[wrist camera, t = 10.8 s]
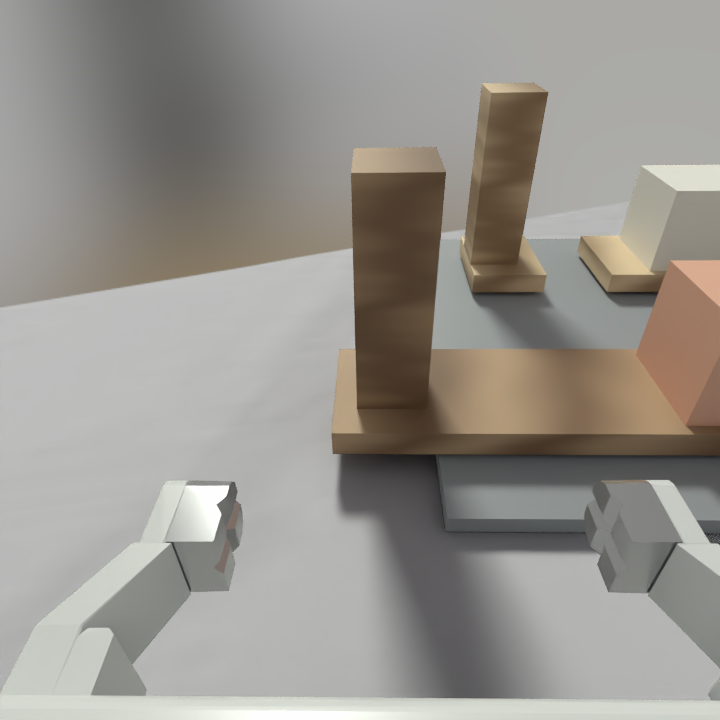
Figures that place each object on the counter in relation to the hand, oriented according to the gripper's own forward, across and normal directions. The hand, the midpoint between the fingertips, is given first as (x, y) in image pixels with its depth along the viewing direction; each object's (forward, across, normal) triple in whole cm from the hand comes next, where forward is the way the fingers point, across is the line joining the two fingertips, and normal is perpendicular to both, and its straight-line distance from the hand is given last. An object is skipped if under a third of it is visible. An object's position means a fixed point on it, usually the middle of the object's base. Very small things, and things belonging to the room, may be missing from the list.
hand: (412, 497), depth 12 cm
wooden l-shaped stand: (+11, -7, +7) cm, 14 cm away
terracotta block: (+10, -14, +5) cm, 19 cm away
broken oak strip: (+24, -15, +7) cm, 29 cm away
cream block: (+24, -19, +5) cm, 31 cm away
